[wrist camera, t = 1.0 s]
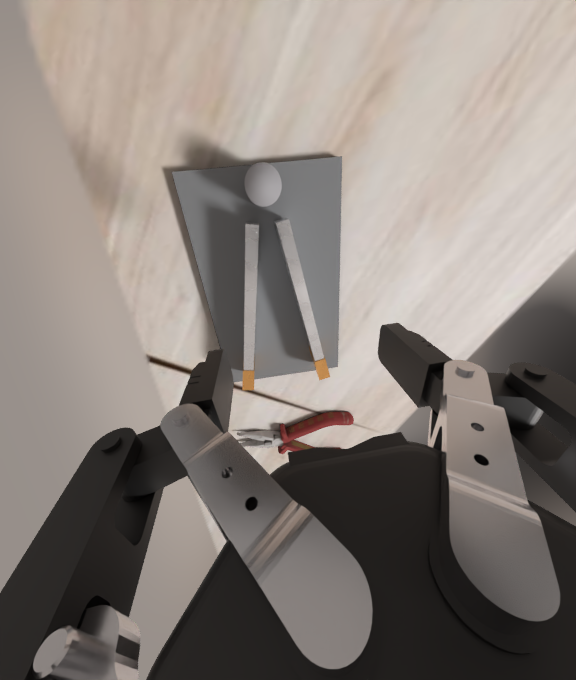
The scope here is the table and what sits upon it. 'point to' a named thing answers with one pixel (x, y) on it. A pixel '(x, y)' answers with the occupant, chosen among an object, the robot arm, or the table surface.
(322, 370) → the leg
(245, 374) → the leg
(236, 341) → the mat
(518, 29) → the table surface
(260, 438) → the pliers
